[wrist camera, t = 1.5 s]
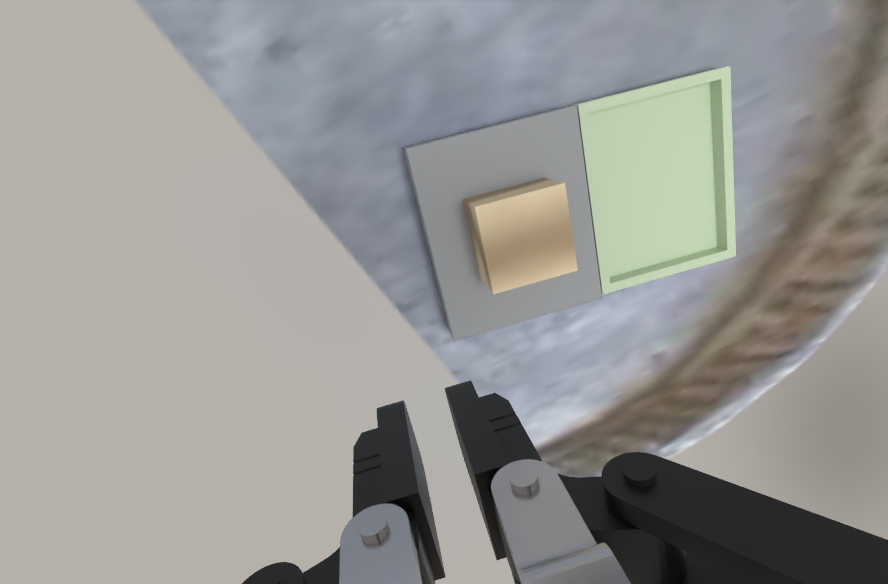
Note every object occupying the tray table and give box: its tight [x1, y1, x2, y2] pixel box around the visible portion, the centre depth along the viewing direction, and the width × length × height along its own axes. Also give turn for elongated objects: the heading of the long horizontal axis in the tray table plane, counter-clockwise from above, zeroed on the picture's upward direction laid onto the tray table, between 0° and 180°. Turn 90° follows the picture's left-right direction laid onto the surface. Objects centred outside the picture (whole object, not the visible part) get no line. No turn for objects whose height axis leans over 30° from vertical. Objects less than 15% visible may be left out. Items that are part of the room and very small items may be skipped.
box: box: [569, 66, 736, 294], centre depth 32 cm, size 12×10×2 cm
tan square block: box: [463, 178, 578, 294], centre depth 28 cm, size 5×5×3 cm
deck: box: [403, 105, 602, 341], centre depth 31 cm, size 12×10×2 cm
